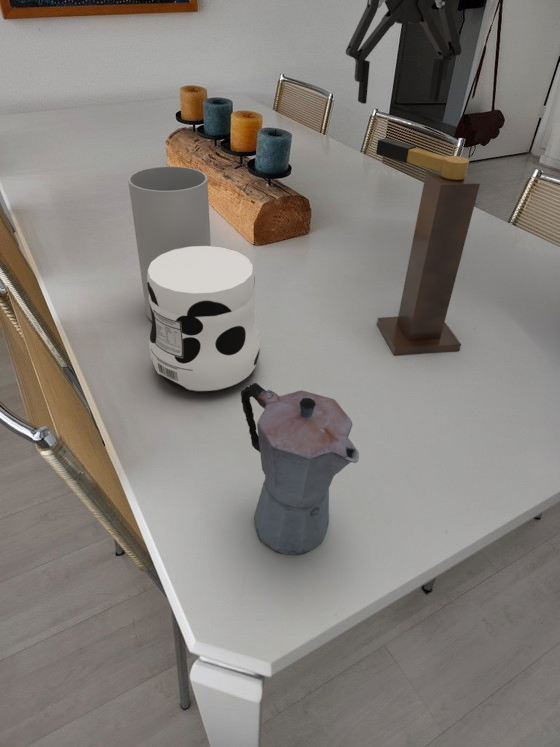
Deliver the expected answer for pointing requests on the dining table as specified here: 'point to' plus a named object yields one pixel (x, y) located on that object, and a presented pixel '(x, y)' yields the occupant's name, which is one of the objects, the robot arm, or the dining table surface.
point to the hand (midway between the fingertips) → (397, 101)
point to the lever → (423, 158)
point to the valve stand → (432, 268)
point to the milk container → (203, 318)
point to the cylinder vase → (168, 213)
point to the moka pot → (297, 464)
